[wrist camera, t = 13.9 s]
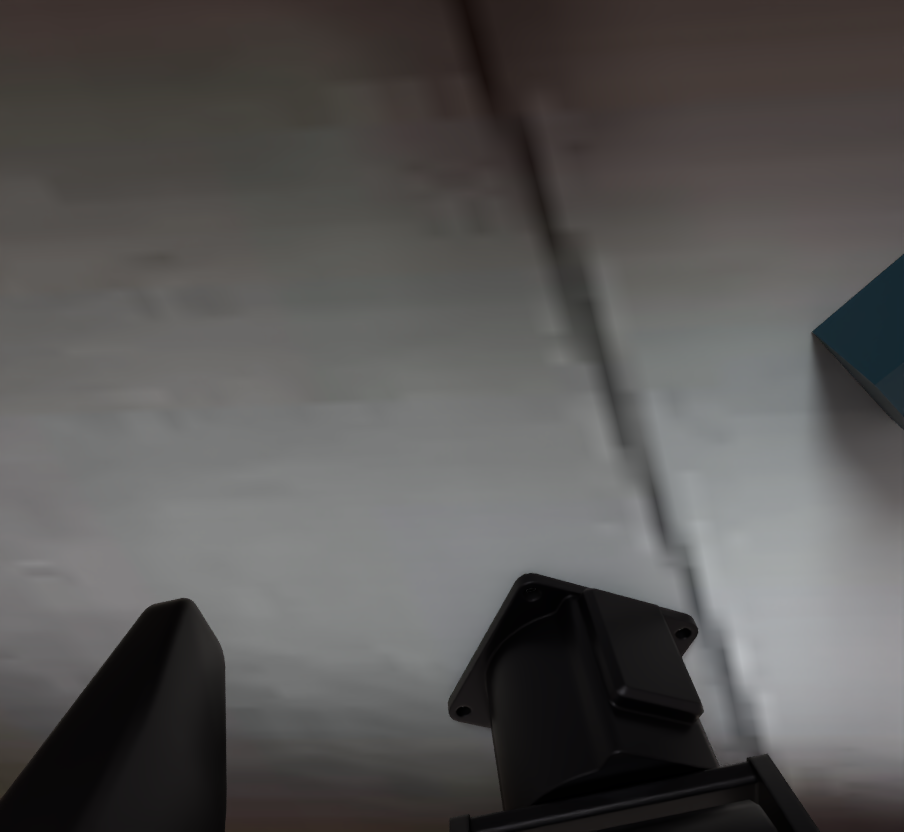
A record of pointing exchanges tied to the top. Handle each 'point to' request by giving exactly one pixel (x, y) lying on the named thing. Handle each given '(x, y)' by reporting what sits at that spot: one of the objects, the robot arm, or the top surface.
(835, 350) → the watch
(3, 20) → the top surface
